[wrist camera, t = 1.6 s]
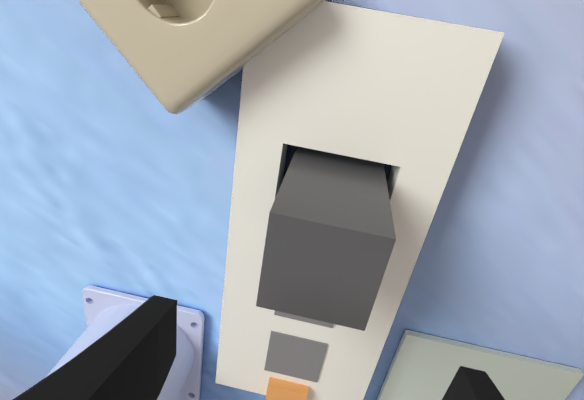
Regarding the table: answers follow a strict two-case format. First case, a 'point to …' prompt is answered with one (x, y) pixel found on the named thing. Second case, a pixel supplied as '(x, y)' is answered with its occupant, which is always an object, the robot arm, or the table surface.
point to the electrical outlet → (192, 40)
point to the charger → (327, 239)
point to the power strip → (349, 142)
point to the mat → (452, 354)
